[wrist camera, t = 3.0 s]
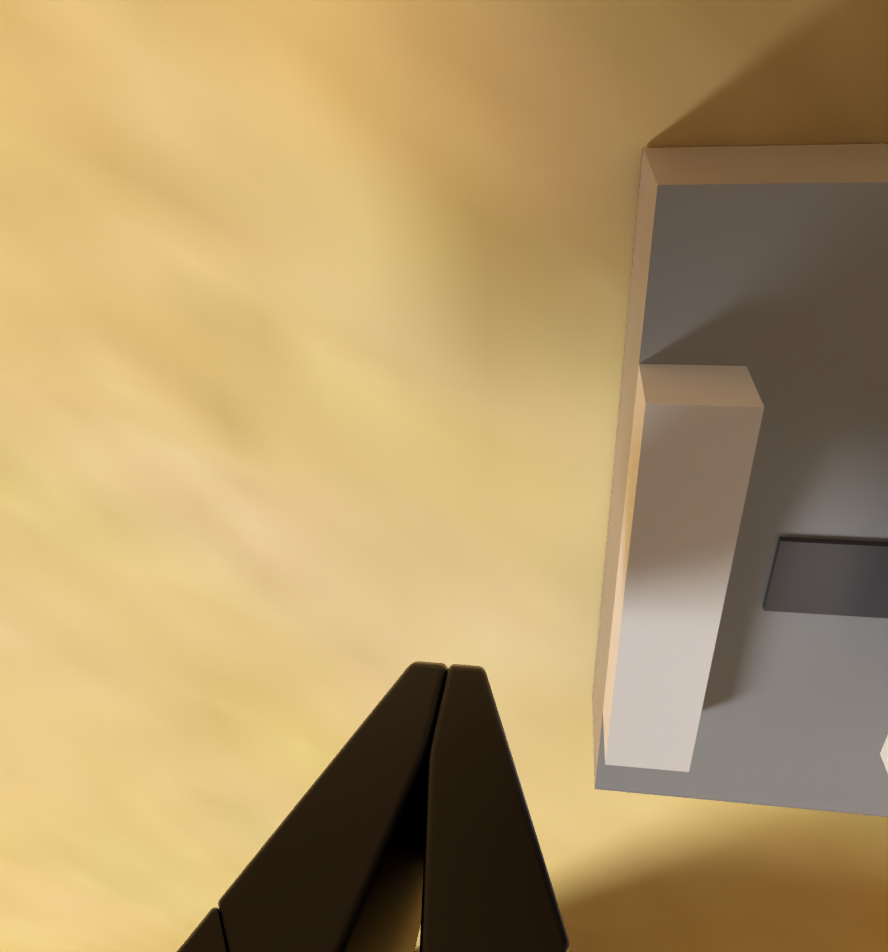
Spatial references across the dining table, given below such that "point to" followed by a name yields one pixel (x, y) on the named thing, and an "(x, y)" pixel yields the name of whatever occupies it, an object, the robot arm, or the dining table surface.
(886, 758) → the fader tab
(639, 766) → the fader console
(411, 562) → the dining table surface
